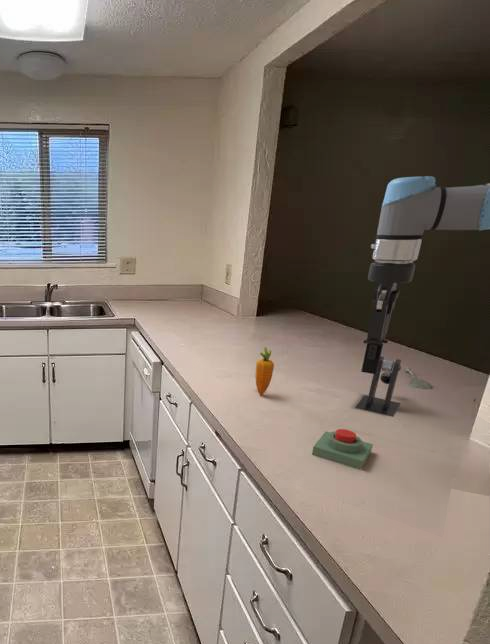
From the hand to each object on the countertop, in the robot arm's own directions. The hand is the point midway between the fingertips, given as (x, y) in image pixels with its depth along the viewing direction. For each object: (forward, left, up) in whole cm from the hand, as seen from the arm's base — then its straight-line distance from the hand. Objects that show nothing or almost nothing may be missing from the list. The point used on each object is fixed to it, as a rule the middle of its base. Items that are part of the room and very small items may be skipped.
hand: (369, 372), depth 95 cm
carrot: (+34, +6, -20) cm, 40 cm away
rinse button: (-2, +3, -16) cm, 16 cm away
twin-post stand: (+21, -22, -19) cm, 36 cm away
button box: (-2, +3, -19) cm, 20 cm away
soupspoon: (+41, -49, -20) cm, 67 cm away
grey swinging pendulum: (+24, -24, -11) cm, 35 cm away
